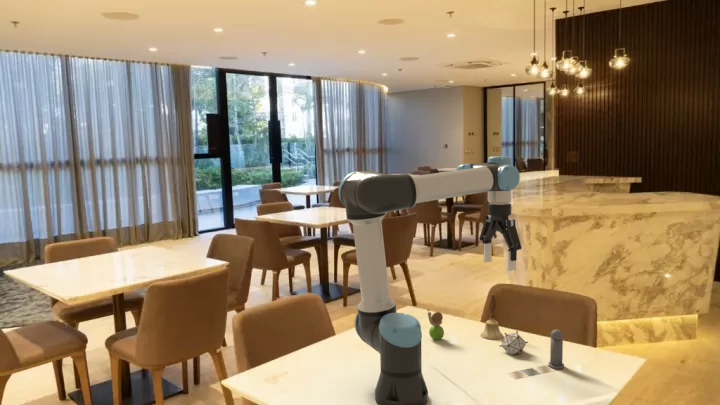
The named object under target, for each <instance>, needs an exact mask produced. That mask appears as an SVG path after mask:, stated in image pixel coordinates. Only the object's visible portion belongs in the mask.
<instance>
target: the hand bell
mask: <svg viewBox="0 0 720 405" xmlns="http://www.w3.org/2000/svg"><path fill="white" fill-rule="evenodd" d="M488 306H489V310H490V311H489V319H487V320H486V321H485V326H484V329H483V331H482V332H480V337H482V338H483V339H487V340H492V341H495V340H501V339H504V334H503V333H502V332H501V331H500V328H499V322H498V321H497V320H495V317H496V316H495V311H496V306H497V299H496V296H495V294H494V293H491V294H490V297H489V299H488Z"/></svg>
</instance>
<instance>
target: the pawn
mask: <svg viewBox="0 0 720 405" xmlns="http://www.w3.org/2000/svg"><path fill="white" fill-rule="evenodd" d="M563 336H564V335H563V332H562V331H561V330H559V329H557V328H556V329H553V330H551V331H550V357H549V362H548V365H549V368H550V369H552V370H553V369H563V368H564V367H565V364H564V363H563V351H564V350H563V349H564V348H563V346H564V343H563V341H564V339H563V338H564V337H563ZM563 370H564V369H563Z"/></svg>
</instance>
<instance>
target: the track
mask: <svg viewBox="0 0 720 405" xmlns="http://www.w3.org/2000/svg"><path fill="white" fill-rule="evenodd" d="M566 369H567V370H568V367H566V366H564V368H563V369H552V368H550V367H549V364H545V365H541V366H535V367H530V368H525V369H521V370H515V371H511V372H506V375H508V376H509V377H511V378H513V379H514V380H518V379H523V378H529V377H533V376H538V375H542V374H548V373H552V372H553V373H554V372H555V371H557V372H558V371H563V370H566Z"/></svg>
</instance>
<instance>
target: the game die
mask: <svg viewBox="0 0 720 405" xmlns="http://www.w3.org/2000/svg"><path fill="white" fill-rule="evenodd" d="M518 333H519V331H518V330H516V332H514V333H508V334H507V333H506V332H504V335H505V336H504V337H503V341H502V343H501V345H500V344H499V347H502V348H503V350H504V351H505V352H506V353H508V355H510V356H512V355H519V354H522V353H523V351H524V348H525V346H526V344H528V343H529V341H526V340H525V339H524V338H523V337H521V336H520V334H518Z"/></svg>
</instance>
